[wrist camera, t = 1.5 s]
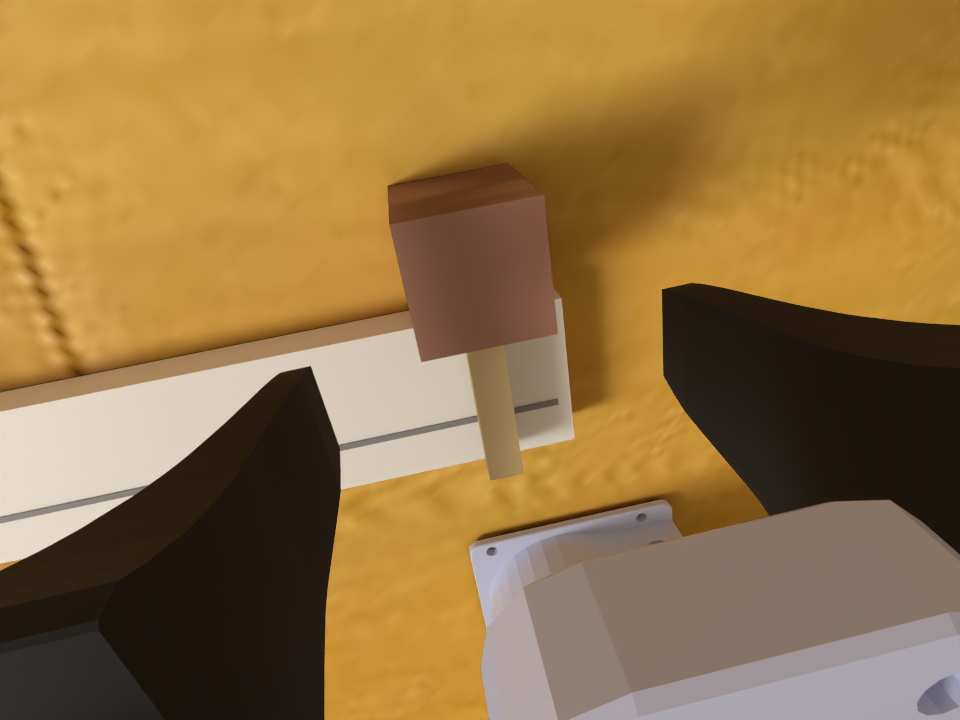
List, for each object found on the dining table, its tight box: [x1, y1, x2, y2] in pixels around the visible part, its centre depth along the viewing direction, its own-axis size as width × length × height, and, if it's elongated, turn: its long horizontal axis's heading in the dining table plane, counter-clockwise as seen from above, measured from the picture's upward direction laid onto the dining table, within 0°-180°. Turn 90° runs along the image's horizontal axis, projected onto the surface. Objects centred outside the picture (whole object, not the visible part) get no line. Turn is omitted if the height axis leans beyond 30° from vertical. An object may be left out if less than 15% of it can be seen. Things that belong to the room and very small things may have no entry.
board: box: [0, 287, 575, 564], centre depth 21 cm, size 22×6×2 cm, turn 98°
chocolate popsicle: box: [388, 164, 558, 480], centre depth 19 cm, size 4×10×5 cm, turn 8°
